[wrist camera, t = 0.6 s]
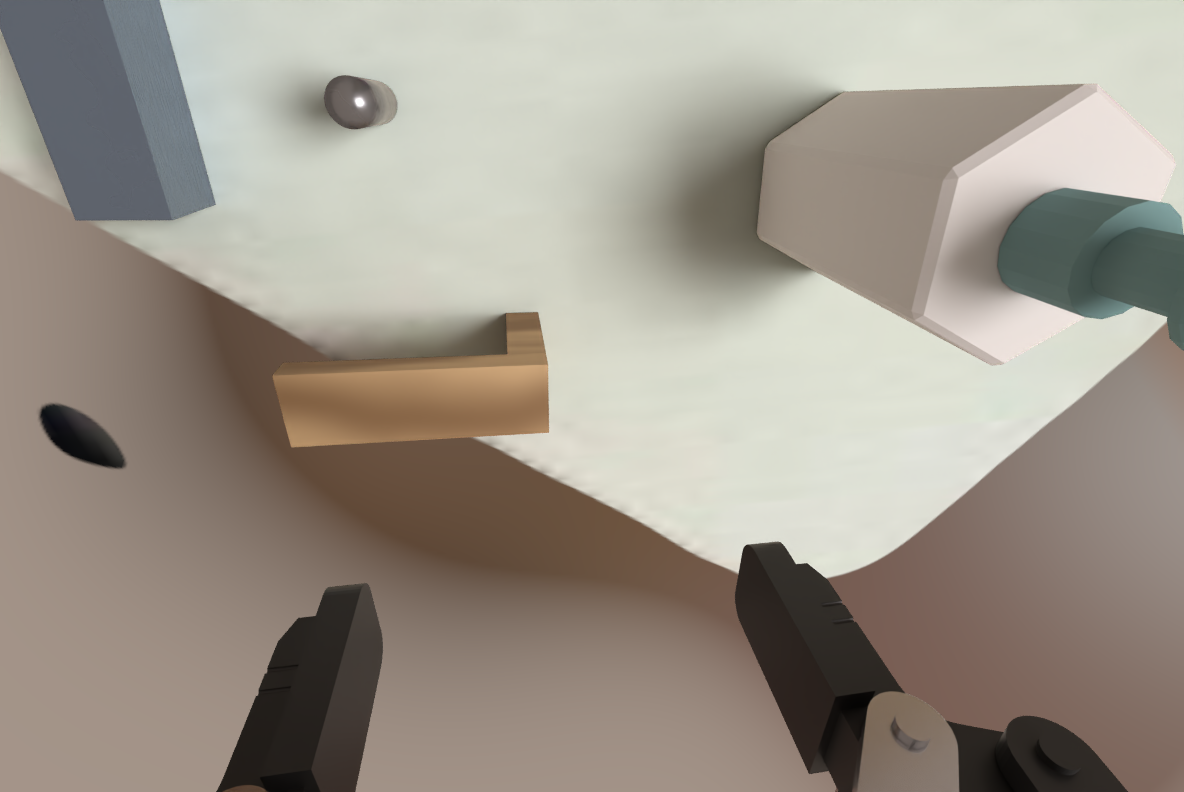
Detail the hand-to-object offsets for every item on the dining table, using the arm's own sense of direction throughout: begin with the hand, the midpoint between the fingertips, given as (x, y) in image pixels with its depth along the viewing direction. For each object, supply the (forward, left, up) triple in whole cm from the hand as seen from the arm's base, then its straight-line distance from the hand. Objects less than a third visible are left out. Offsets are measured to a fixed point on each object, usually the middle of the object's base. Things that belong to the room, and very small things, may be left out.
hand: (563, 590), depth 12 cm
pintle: (-9, -7, -25) cm, 28 cm away
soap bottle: (-5, +19, -25) cm, 32 cm away
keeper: (+4, -6, -25) cm, 26 cm away
